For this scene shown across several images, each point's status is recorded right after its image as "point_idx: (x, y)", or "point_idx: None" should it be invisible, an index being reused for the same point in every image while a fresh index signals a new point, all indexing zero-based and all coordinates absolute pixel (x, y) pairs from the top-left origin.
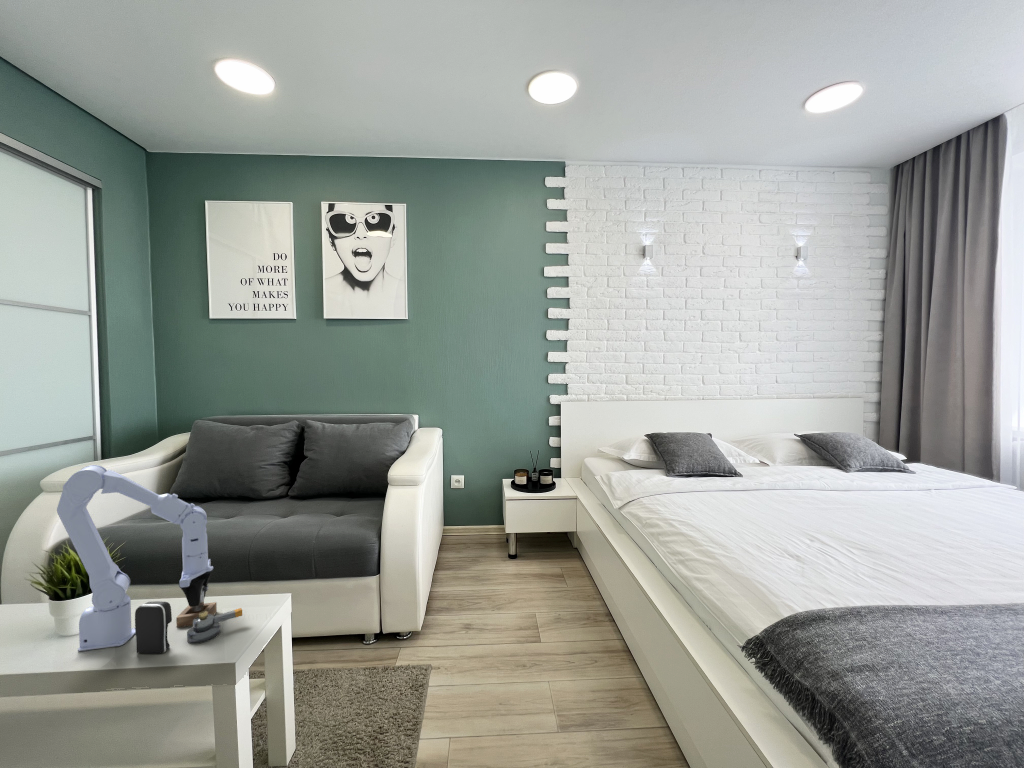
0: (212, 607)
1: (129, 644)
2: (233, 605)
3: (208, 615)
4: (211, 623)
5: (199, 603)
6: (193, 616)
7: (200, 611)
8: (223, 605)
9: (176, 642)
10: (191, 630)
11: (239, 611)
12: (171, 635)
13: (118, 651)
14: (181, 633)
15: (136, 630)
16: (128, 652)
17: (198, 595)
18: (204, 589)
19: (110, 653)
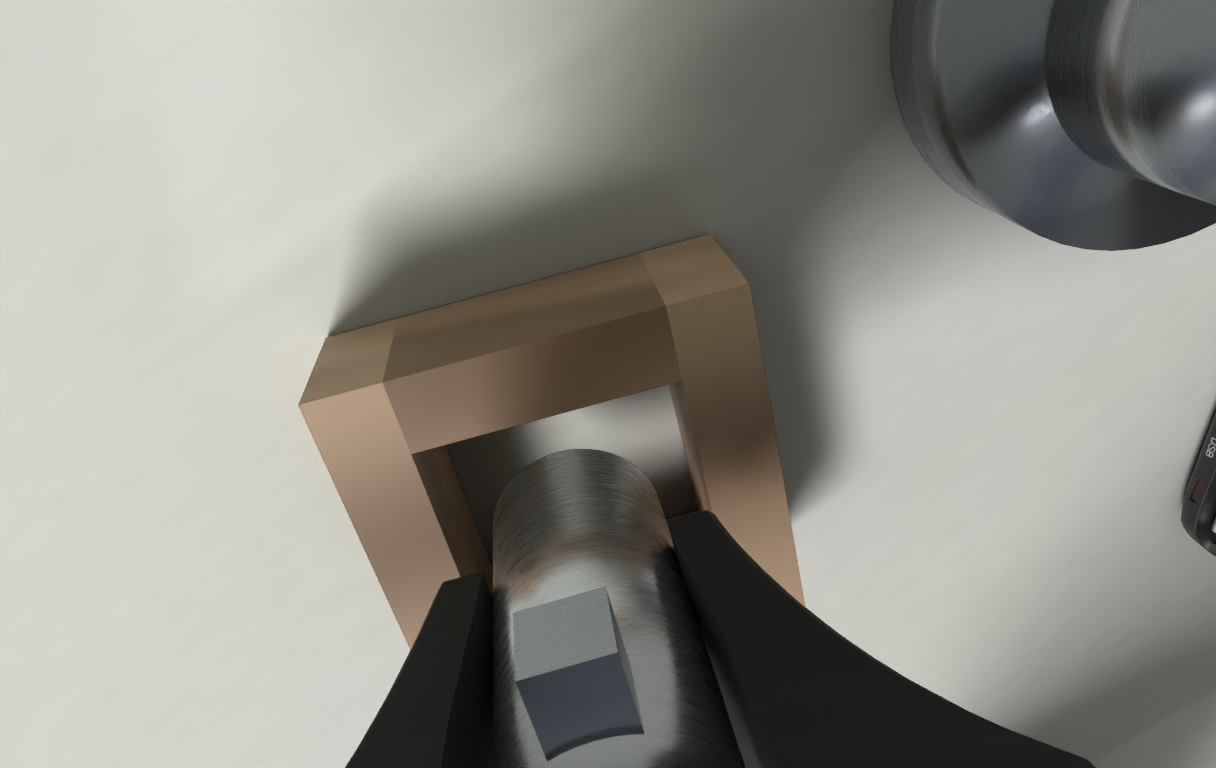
0: (475, 351)
1: (1040, 718)
2: (79, 191)
3: (1212, 10)
4: None
5: (653, 530)
6: (771, 441)
7: (457, 511)
8: (115, 363)
9: (1148, 295)
10: None
11: None
12: (951, 470)
13: (1148, 712)
14: (927, 389)
15: None
16: (1200, 623)
17: (809, 613)
18: (623, 660)
19: (1162, 744)
